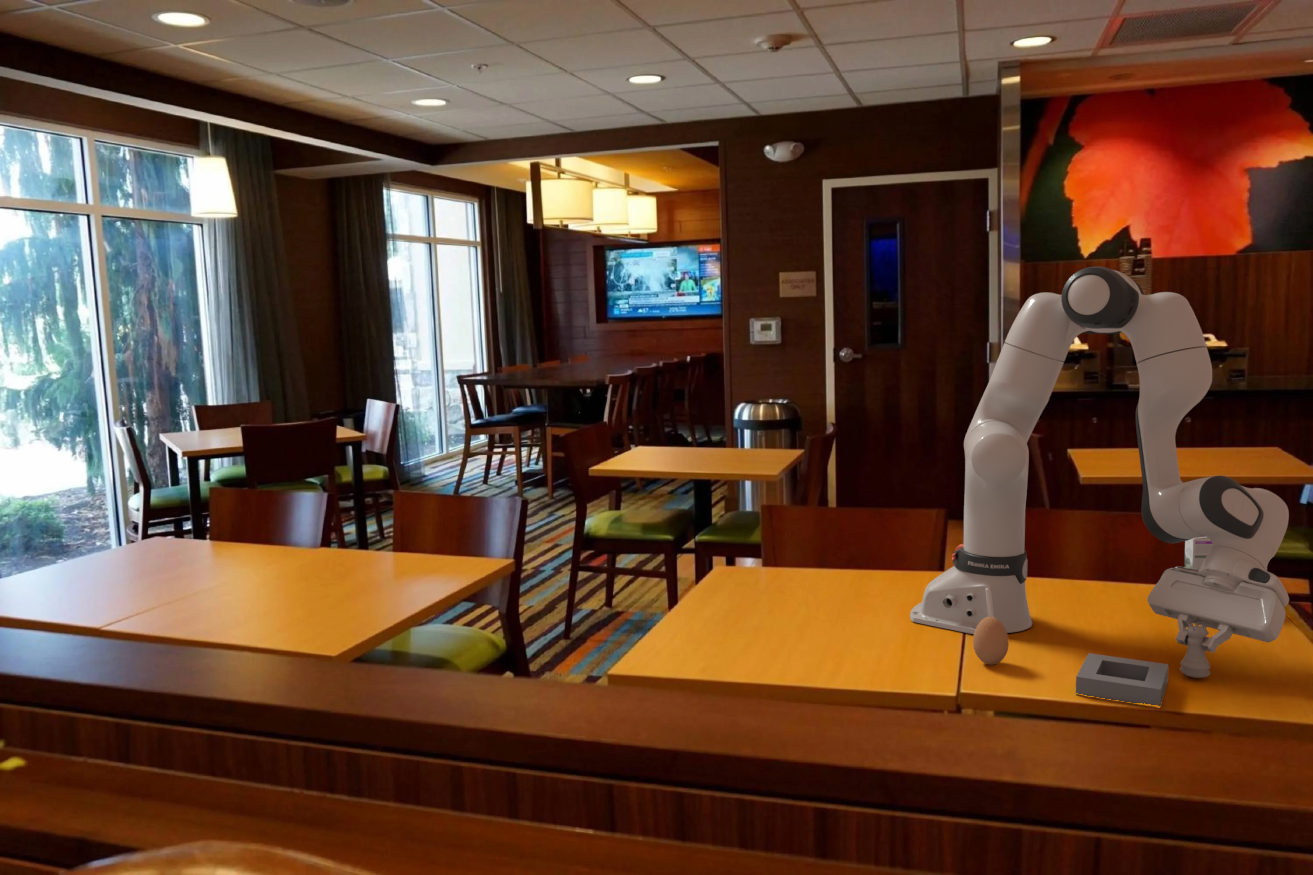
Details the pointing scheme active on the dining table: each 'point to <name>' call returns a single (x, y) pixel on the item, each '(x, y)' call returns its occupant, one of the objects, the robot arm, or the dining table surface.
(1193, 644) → the rook chess piece
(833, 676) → the dining table surface
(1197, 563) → the syrup box
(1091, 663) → the socket block
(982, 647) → the egg
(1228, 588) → the robot arm
